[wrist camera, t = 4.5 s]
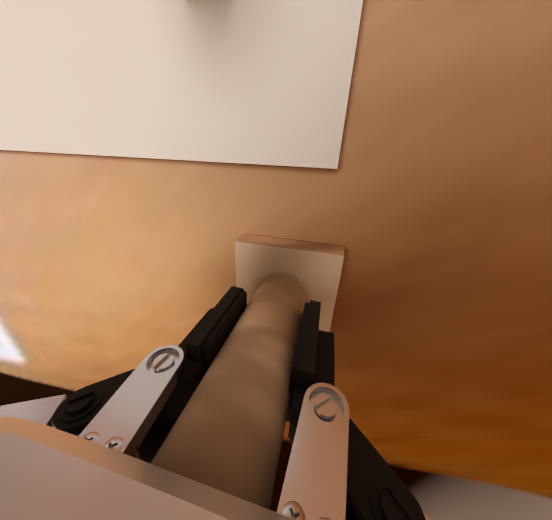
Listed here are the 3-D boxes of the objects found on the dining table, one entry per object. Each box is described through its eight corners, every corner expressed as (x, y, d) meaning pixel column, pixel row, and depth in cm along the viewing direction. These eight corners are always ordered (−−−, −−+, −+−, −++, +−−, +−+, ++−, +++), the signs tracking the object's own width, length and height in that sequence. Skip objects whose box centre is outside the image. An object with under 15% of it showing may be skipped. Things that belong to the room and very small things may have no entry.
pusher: (343, 245, 12) (372, 503, 3) (327, 327, 15) (317, 606, 5) (244, 233, 13) (43, 389, 4) (245, 311, 16) (121, 517, 7)
